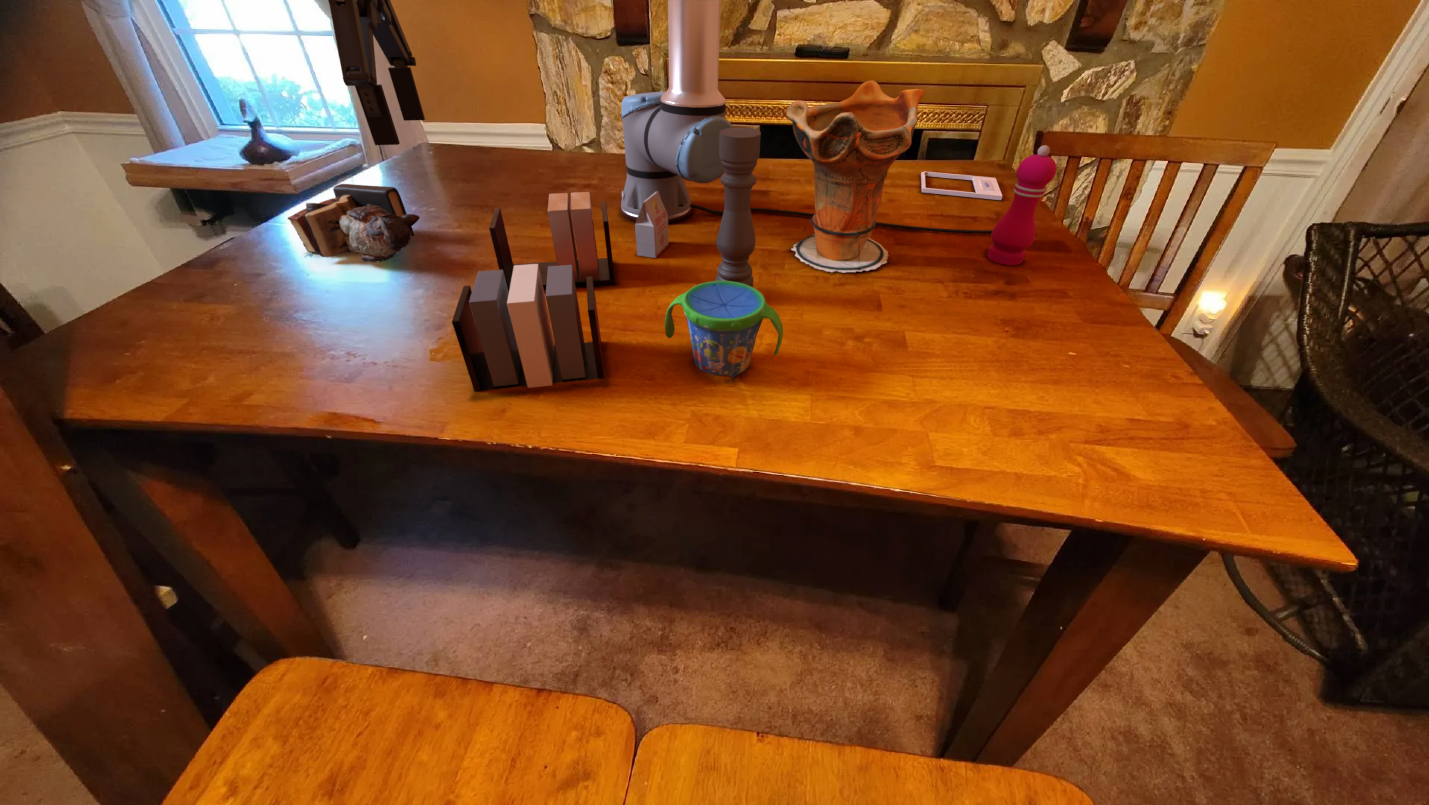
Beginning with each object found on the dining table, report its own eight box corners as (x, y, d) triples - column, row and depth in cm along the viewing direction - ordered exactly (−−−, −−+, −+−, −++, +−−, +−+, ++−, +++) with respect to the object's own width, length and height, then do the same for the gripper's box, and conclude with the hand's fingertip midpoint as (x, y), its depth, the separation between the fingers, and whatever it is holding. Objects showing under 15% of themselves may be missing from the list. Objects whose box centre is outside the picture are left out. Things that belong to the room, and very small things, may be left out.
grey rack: (602, 346, 79) (592, 275, 72) (604, 384, 72) (594, 309, 65) (484, 358, 76) (463, 285, 69) (476, 397, 70) (451, 321, 63)
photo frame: (1002, 195, 129) (922, 187, 133) (1001, 200, 130) (921, 192, 134) (995, 177, 140) (922, 170, 144) (994, 181, 141) (921, 174, 145)
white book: (554, 343, 78) (538, 263, 70) (552, 385, 70) (534, 300, 63) (532, 345, 77) (513, 265, 70) (527, 388, 70) (506, 303, 62)
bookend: (340, 182, 106) (443, 183, 98) (365, 238, 112) (463, 243, 104) (268, 204, 95) (377, 208, 87) (300, 265, 101) (404, 273, 93)
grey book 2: (584, 344, 78) (572, 264, 70) (585, 377, 71) (572, 293, 64) (562, 346, 77) (547, 266, 70) (562, 379, 71) (545, 295, 63)
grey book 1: (522, 350, 76) (503, 269, 69) (518, 384, 70) (496, 299, 63) (500, 352, 76) (477, 271, 68) (493, 387, 70) (468, 302, 62)
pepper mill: (1025, 254, 106) (1069, 143, 94) (1024, 269, 101) (1070, 153, 88) (985, 248, 108) (1022, 137, 96) (982, 262, 103) (1021, 147, 91)
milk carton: (637, 255, 103) (633, 201, 97) (651, 241, 108) (648, 189, 102) (655, 257, 103) (652, 203, 96) (668, 244, 108) (666, 191, 101)
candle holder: (726, 308, 88) (731, 140, 72) (708, 292, 92) (709, 129, 77) (759, 300, 90) (771, 135, 75) (740, 284, 95) (748, 125, 79)
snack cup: (787, 357, 78) (795, 291, 71) (765, 400, 70) (771, 331, 63) (685, 334, 82) (684, 270, 75) (654, 373, 74) (649, 305, 68)
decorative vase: (755, 256, 104) (766, 86, 86) (824, 223, 117) (846, 71, 100) (851, 292, 93) (885, 107, 75) (915, 252, 106) (957, 86, 89)
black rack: (612, 262, 101) (604, 189, 93) (615, 284, 94) (607, 208, 86) (509, 269, 98) (492, 195, 90) (505, 293, 91) (485, 215, 83)
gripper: (340, -74, 70) (397, 111, 83) (245, -86, 51) (339, 157, 64) (403, -72, 71) (449, 111, 85) (333, -83, 52) (407, 155, 65)
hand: (402, 131), depth 74 cm, fingers open, 13 cm apart
